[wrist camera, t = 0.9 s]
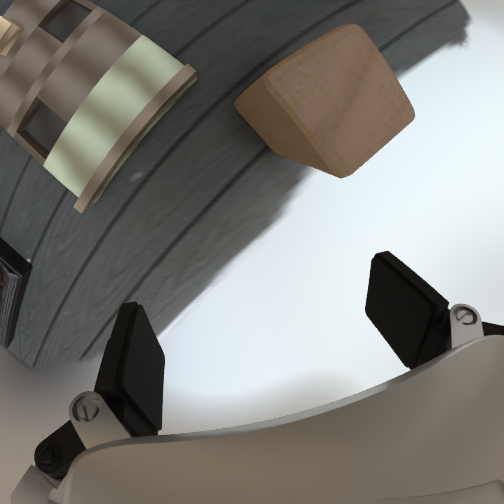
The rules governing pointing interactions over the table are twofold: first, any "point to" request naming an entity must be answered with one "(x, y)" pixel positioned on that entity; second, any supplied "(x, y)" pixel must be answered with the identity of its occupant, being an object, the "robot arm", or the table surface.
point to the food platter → (11, 289)
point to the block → (328, 103)
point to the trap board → (83, 90)
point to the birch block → (8, 34)
